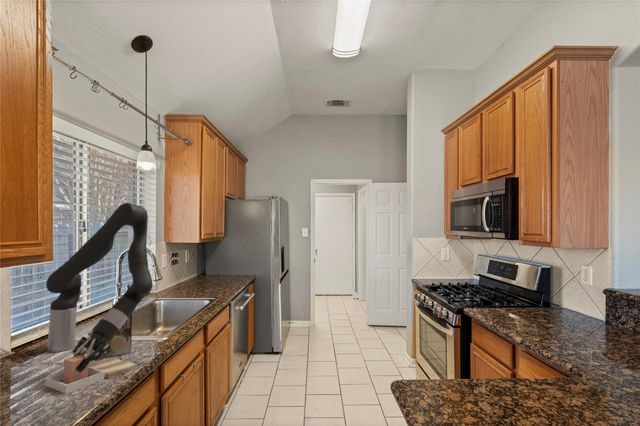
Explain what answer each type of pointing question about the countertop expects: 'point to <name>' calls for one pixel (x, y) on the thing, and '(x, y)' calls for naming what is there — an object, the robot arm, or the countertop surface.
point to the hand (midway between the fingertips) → (73, 368)
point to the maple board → (113, 367)
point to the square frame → (66, 388)
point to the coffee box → (121, 340)
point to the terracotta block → (73, 369)
